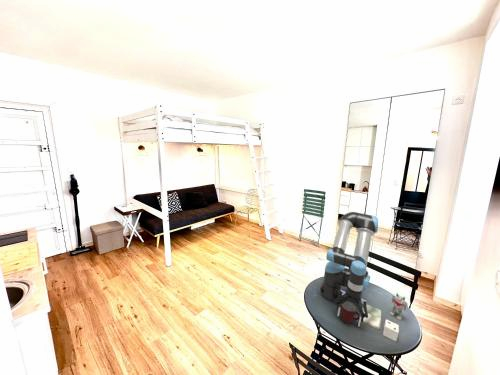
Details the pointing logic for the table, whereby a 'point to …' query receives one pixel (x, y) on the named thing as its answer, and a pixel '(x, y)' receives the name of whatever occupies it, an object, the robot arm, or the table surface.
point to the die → (391, 330)
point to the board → (373, 317)
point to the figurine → (398, 305)
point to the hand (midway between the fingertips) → (348, 319)
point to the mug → (348, 312)
